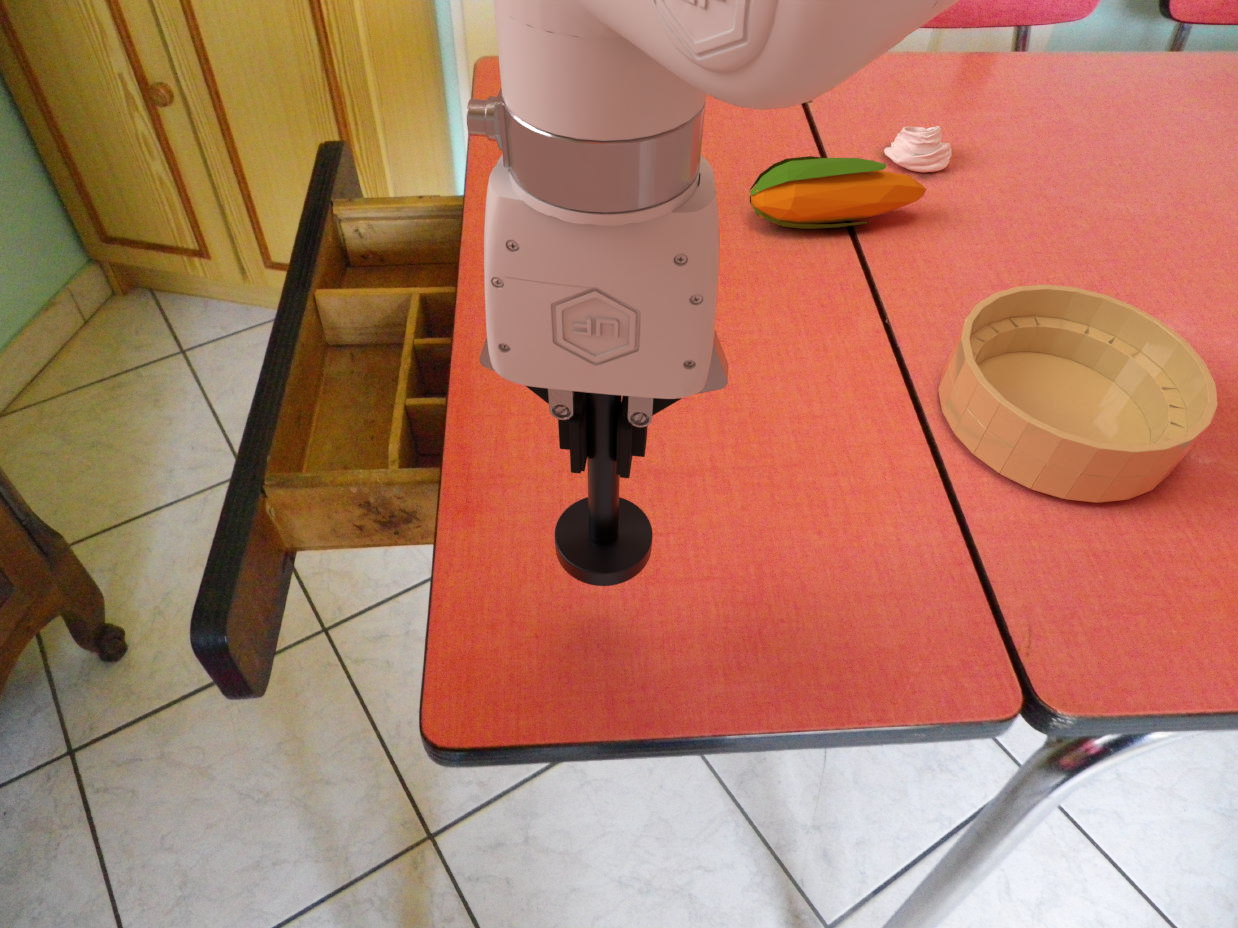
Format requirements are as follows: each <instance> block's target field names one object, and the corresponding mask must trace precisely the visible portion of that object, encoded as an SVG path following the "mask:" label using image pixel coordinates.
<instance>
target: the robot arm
mask: <svg viewBox="0 0 1238 928" xmlns="http://www.w3.org/2000/svg"><path fill="white" fill-rule="evenodd" d="M960 1H961V0H493V11H494V21H495V31H496V32H495V34H496V44H497V53H498V55H497V56H498V64H499V76H500V87H501V88H500V89H499V92H498V94H497V96H492V95H490V96H489V97H488V98H487V99H481V98H480V99H479V98H470V99H469V100H468V102H467V107H466V127H467V132H468V135H469V136H471V137H484V138H487V140H488V141H489V142H496V143H497V146H498V149H499V151H501V152H502V153H501V156H500V157H499V158H498V160H497V162H496V164H495V166H494V167H493V168H492V170H491V172H490V174H489V177H488V183H487V189H486V197H485V211H484V212H485V213H484V215H485V216H484V230H483V232H484V233H483V269H484V270H483V272H484V273H483V275H484V276H483V277H484V278H483V281H484V304H485V305H484V307H485V328H486V329H485V331H486V338H485V341H484V344H483V347H482V349H481V353H480V355H479V363H480V365H481V366H482V367H484V368H485V369H488V370H490V371H492V372H495V373H496V374H497V375H498V376H499V377H501V378H502V379H503V380H507V381H508V382H511V383H513V384H517V385H520V386H525V387H526V388H527V389H529V390H530V391H531V392H532V393H534V394H535V395H536V396H537V397H539V398H540V399H541V400H543V401H544V402H545V403H546V404H548V408H549V409H548V410H549V413H550V415H551V416H552V417H553V418H554V419H556V420H557V426H558V427H557V429H558V443H559V446H558V447H559V449H560V450H566V451H567V450H568V451H569V459H570V460H569V463H570V465H569V466H570V473H571V474H582V472H585V471H586V467H587V466H586V465H587V411H586V392H588V393H599V394H610V395H621V396H622V397H621V410H620V414H619V420H618V427H617V462H616V475H620V478H621V479H630V476H631V469H632V464H633V463H632V462H633V457H637V458H638V457H640V458H645V456H646V449H647V441H648V427H649V425H650V424H652V420H653V416H654V415H656V414H658V413H660V412H662V411H663V410H665V409H668V407H670V406H672V405H673V404H675V403H677V402H679V401H681V400H682V399H684V398H689V397H692V396H694V395H699V394H705V393H710V392H715V391H721V390H724V389H725V388H726V387H727V386H728V384H729V363H728V360H727V359H728V358H727V357H726V354H725V351H724V349H723V346H722V344H721V341H720V338H719V336H718V333H717V330H716V321H717V310H718V309H717V308H718V291H719V277H720V259H721V257H720V256H721V254H720V253H721V251H720V250H721V234H720V212H719V204H718V194H717V186H716V180H715V172H714V169H713V166H712V165H711V164H710V162H709V161H708V160H707V158H706V157H704V156H703V155H702V146H703V135H704V134H703V133H704V124H705V113H706V103H707V95H708V96H710V97H711V98H713V99H715V100H718V101H721V102H723V103H726V104H729V105H732V106H735V107H739V108H742V109H743V108H744V109H749V110H750V109H751V110H757V111H769V110H781V109H789V108H792V107H796V106H799V105H803V104H805V103H808V102H810V101H813V100H816V99H817V98H819V97H821V96H823V95H825V94H827V93H829V92H831V91H833V90H834V89H835V88H837V87H839V86H840V85H841V84H843V83H844V82H845V81H847V80H849V79H850V78H852V77H853V76H854V75H856V74H857V73H858V72H860V71H862V70H863V69H864V68H866V67H867V66H869V65H870V64H872V63H874V61H876V60H877V59H878V58H880V57H881V56H883V55H885V54H886V53H887V52H888V51H890V50H891V49H893V48H894V47H896V46H897V45H899V44H900V43H901V42H902V41H903V40H905V39H906V38H907V37H908V36H910V35H911V34H913V33H914V32H915V31H917V30H919V29H920V28H922V27H924V26H925V25H926V24H927V23H928V22H930V21H932V20H933V19H934V18H936V17H937V16H938V15H940V14H941V13H943V12H944V11H945V10H947V9H949V8H950V7H952V6H954V5H956V4H957V3H958V2H960Z"/></svg>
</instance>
